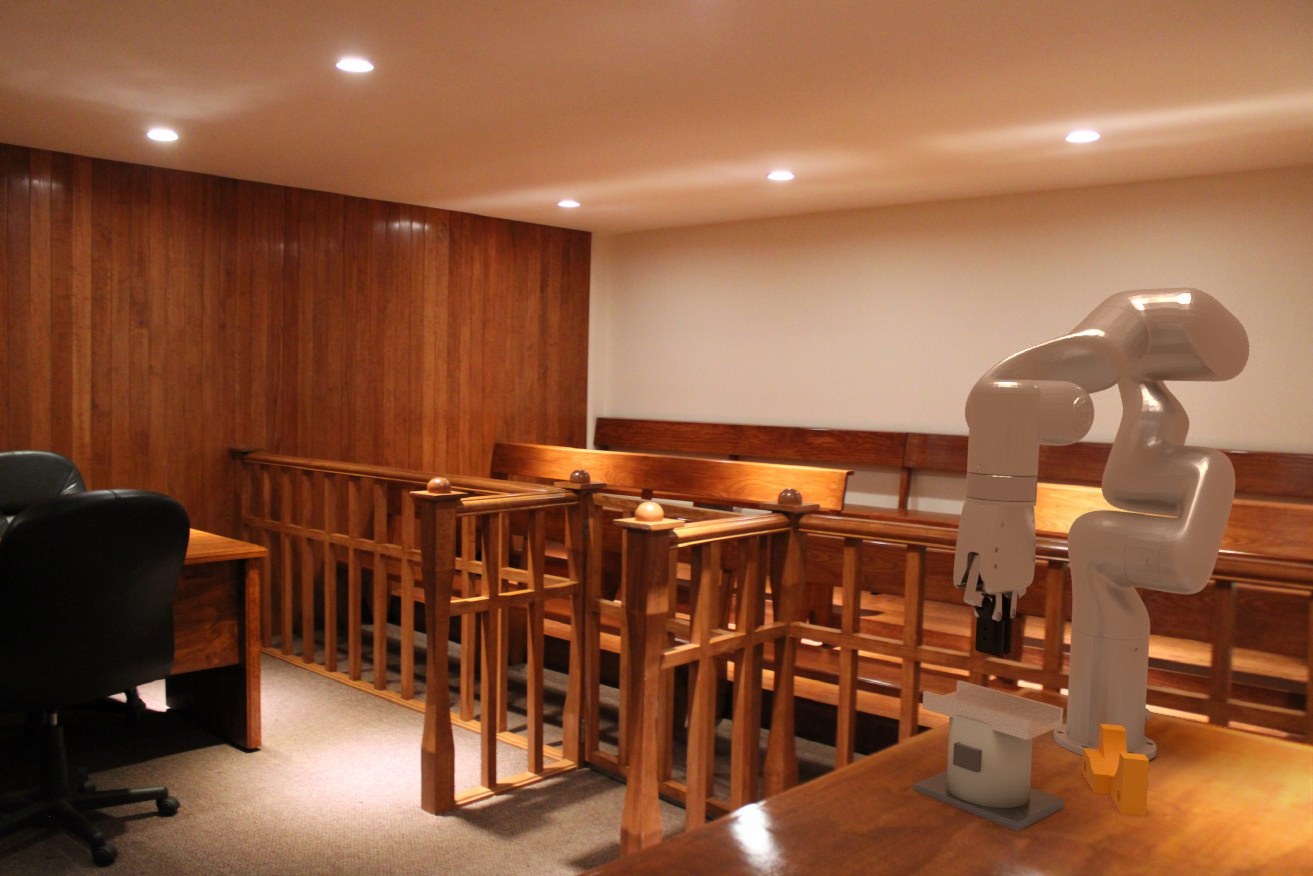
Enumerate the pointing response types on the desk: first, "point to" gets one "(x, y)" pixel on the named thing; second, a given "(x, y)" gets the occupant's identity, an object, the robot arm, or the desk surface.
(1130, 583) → the robot arm
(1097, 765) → the pipe clamp
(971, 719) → the cylinder with tray top
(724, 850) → the desk surface
